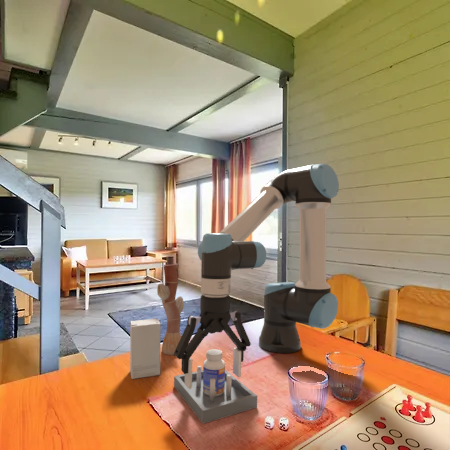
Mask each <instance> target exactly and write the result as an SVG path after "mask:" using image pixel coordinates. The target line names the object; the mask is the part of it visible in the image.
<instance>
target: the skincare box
mask: <svg viewBox="0 0 450 450" xmlns="http://www.w3.org/2000/svg"><path fill="white" fill-rule="evenodd" d="M129 328H130V329H129V333H130V334H129V336H130V337H129V339H130V341H129V343H130V345H129V349H130V354H129V355H130V356H129V358H130V359H129V362H130V363H129V365H130V367H129V371H130V376H131V377H130V378H131V380H135V379H140V378H147V377H154V376H161V333H162V332H161V329H162V328H161V322H160V320H159V319H158V318H148V319H138V320H130V324H129Z"/></svg>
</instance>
